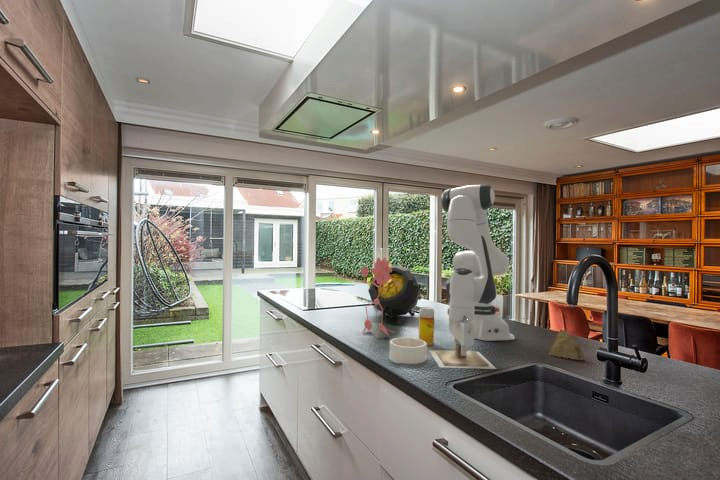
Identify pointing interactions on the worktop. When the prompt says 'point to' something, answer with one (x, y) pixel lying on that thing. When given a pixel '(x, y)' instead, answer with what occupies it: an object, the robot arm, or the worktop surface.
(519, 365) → the worktop surface
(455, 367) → the mat
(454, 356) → the lid
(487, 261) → the robot arm
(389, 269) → the figurine
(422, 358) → the bowl
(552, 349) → the rock
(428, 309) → the beer can
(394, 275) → the cauldron
